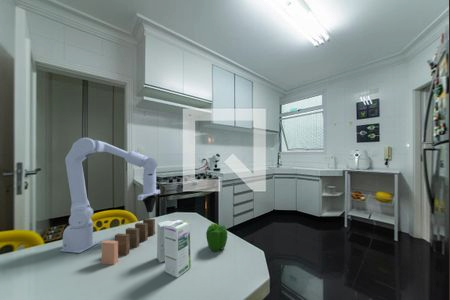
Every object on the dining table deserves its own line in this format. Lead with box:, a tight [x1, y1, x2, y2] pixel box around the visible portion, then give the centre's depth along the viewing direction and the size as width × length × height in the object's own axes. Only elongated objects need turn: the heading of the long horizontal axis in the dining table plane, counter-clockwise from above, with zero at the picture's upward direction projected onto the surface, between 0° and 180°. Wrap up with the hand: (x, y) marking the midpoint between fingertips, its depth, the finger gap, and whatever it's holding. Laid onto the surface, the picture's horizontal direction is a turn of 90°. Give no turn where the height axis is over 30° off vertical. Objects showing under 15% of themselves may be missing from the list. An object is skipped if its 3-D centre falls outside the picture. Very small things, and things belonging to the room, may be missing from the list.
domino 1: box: [101, 239, 119, 266], centre depth 60 cm, size 2×5×7 cm, turn 80°
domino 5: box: [142, 218, 156, 237], centre depth 82 cm, size 2×5×7 cm, turn 79°
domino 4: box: [134, 222, 149, 242], centre depth 77 cm, size 2×5×7 cm, turn 79°
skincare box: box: [156, 219, 176, 263], centre depth 63 cm, size 6×4×12 cm
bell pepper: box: [205, 222, 228, 252], centre depth 69 cm, size 8×8×10 cm
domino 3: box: [125, 227, 140, 249], centre depth 71 cm, size 2×5×7 cm, turn 79°
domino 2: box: [114, 233, 130, 257], centre depth 66 cm, size 2×5×7 cm, turn 79°
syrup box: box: [164, 219, 192, 278], centre depth 56 cm, size 6×6×14 cm
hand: (149, 211), depth 83 cm, fingers closed
